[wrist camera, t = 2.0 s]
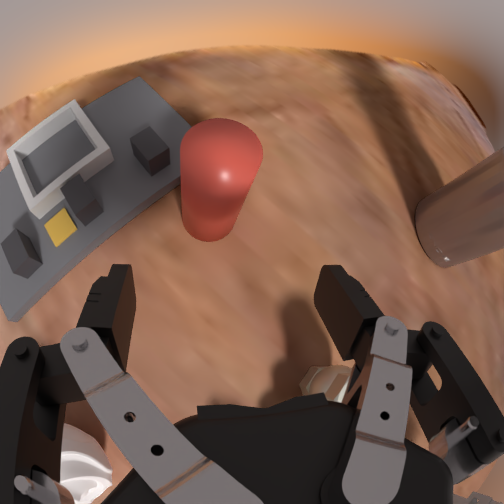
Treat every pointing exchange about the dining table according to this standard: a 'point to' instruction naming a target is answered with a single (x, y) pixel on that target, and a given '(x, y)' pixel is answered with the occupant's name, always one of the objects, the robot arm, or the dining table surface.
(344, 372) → the valve
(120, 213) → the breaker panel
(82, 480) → the white folded ball
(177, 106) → the dining table surface
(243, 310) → the dining table surface
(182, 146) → the cap
